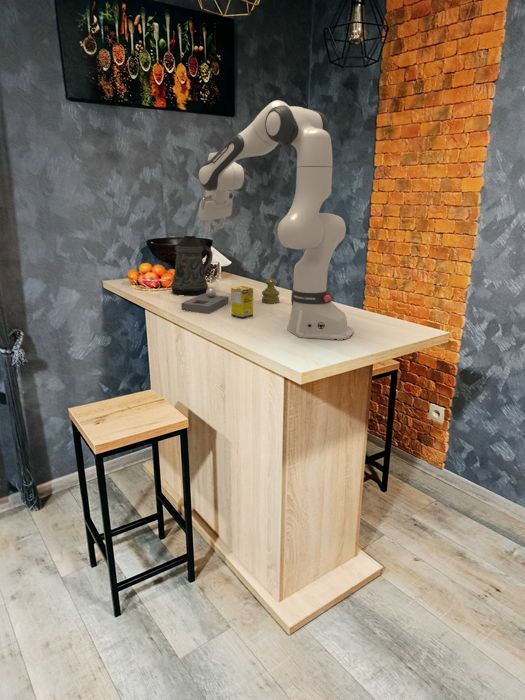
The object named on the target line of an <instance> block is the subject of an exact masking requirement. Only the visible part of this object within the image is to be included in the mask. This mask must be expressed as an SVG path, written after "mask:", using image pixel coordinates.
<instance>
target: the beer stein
mask: <svg viewBox="0 0 525 700" xmlns="http://www.w3.org/2000/svg"><path fill="white" fill-rule="evenodd" d="M174 249H175V251H176V257H175V265H174V273H173V278H172V281H171V284H170V286H171V287H170V288H171V292H172V294H173V293H174V294H173V295H175V294H177V295H176V296H179V295H184V296H183V297H197V296H199V295H201V294H206V291H207V289H208V288H209V284H208V283H207V280H206V275H205V274H206V273H207V271H208V269H209V268H210V266H211V264H212V262H213V251H212V248H211V247H210V246H209V245H207V243H206V240H204V239H201V238H197V237H196V235H184V237H183V239H181V240H180V241H179V242H178V243H176V245H175V248H174ZM203 252H205V255H206V257H205V261H204V260H203V255H202V253H203Z"/></svg>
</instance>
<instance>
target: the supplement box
mask: <svg viewBox="0 0 525 700" xmlns="http://www.w3.org/2000/svg"><path fill="white" fill-rule="evenodd" d="M230 291H231V293H230V294H231V295H230V296H231V297H230V298H231V301H230V303H231V307H230V309H231V317H235V318H238V319H241V320H242V319H243V320H244V319H247V318H250V317H253V316H254V288H253V287H249V286H245V285H240V286H234V287H231V288H230Z"/></svg>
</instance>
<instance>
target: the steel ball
mask: <svg viewBox="0 0 525 700" xmlns="http://www.w3.org/2000/svg"><path fill="white" fill-rule="evenodd" d="M206 294H207V296H208V297H214V296H215V295H217V291H216V289H215V288H214V287H208V288H207V291H206Z"/></svg>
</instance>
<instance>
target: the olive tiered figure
mask: <svg viewBox="0 0 525 700" xmlns="http://www.w3.org/2000/svg"><path fill="white" fill-rule="evenodd" d="M264 283H265V284H266V285H267V287H266V288H265V289H263V290H262V291H261V295H262V296H261V302H262V303H263V304H267V303H268V305H269V304H270V305H272V304H274V303H275V304H279V302H280V296H279V295H280V291H279V290H277V288H276V287H275V285H276V284H277V283H278V282H277V280H276V279H274V278H273V277H271V278H270V277H269V278H268V279H266V280H264Z"/></svg>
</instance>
